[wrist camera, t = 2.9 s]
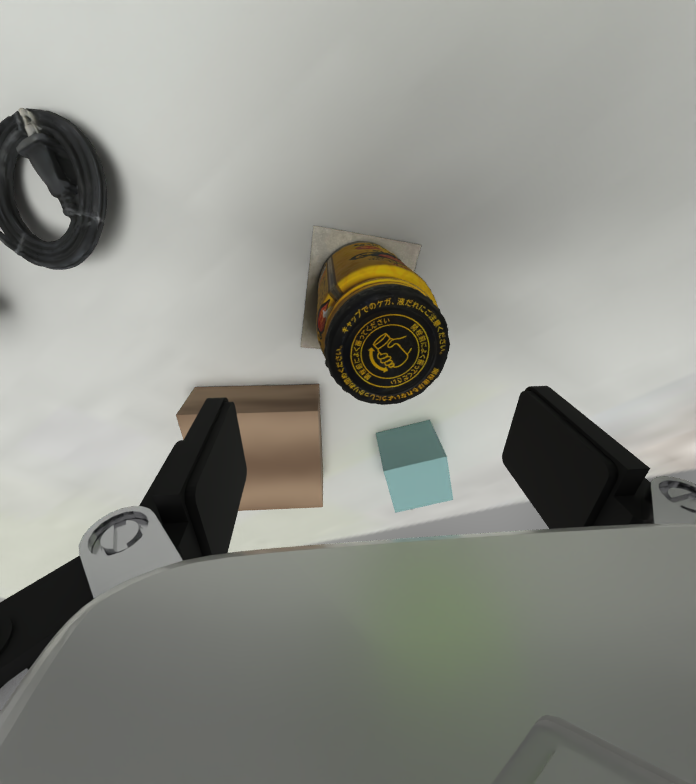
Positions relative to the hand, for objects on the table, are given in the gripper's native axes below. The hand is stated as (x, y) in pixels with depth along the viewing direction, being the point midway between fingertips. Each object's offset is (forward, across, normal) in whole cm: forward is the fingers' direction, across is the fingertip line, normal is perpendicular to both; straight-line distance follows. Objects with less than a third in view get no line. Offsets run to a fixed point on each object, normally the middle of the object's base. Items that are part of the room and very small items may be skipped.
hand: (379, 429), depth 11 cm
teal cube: (+16, -6, +14) cm, 21 cm away
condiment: (+16, -1, 0) cm, 16 cm away
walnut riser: (+16, +7, +12) cm, 21 cm away
